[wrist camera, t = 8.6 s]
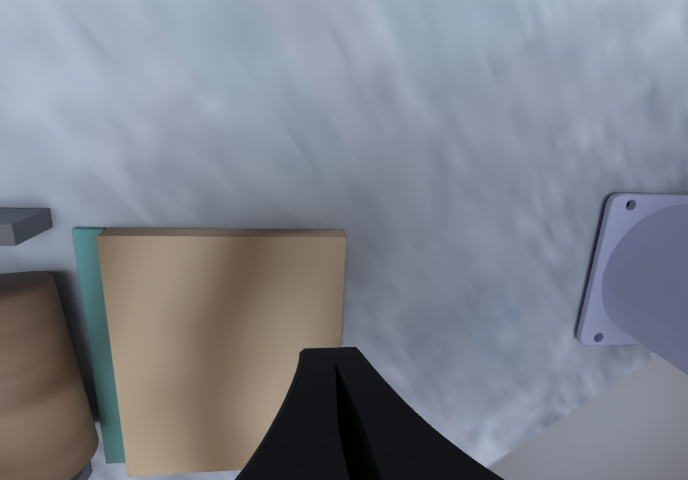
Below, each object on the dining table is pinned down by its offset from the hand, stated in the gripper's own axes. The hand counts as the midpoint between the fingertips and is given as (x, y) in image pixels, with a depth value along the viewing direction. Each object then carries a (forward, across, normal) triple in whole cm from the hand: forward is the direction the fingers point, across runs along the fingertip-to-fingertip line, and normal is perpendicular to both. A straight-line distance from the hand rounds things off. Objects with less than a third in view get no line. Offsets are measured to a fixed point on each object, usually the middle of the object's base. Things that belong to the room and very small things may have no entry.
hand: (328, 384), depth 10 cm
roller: (+8, +12, +5) cm, 15 cm away
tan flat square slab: (+10, +4, +5) cm, 12 cm away
